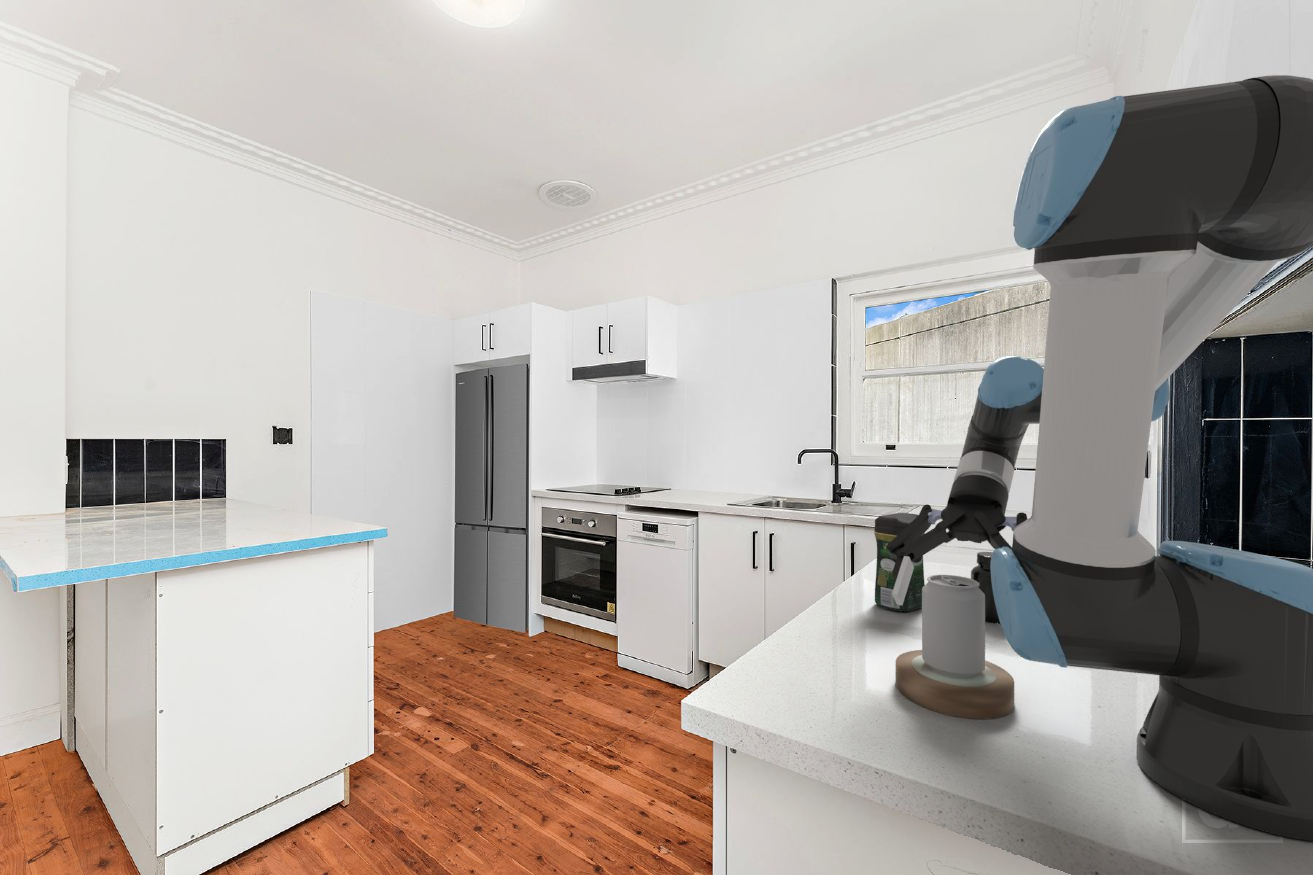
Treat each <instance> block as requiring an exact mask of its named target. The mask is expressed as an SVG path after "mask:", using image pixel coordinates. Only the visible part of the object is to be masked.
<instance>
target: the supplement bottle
mask: <svg viewBox="0 0 1313 875" xmlns="http://www.w3.org/2000/svg"><path fill="white" fill-rule="evenodd" d="M992 553H993V551H979V552H977V554H976V564H977V565H976V566H974V567H972V569H971V570H970V579H973V580H976V581H977V582H979V587H978V588H979V589H980V590H981V591H982V592H983V593H984V594H985V623H989V624H995V623H998V624H999V625H1001V624H1000V620H999V617H998V613H997V609H996V605H995V600H994V595H993V589H992V582H991V567H990V565H991V557H992Z"/></svg>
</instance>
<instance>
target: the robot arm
mask: <svg viewBox="0 0 1313 875" xmlns="http://www.w3.org/2000/svg"><path fill="white" fill-rule="evenodd" d="M1026 160H1027V161H1026V162H1025V166H1024V169H1023V171H1022V175H1021V178H1020V182H1019V186H1018V190H1017V195H1016V199H1015V203H1014V204H1015V205H1014V210H1013V218H1012V219H1013V221H1012V222H1013V224H1012V225H1013V227H1014V229H1013V237H1014V238H1013V239H1014V241H1015V243H1016V245H1017V246H1019V247H1020V248H1023V249H1026V251H1027V250H1028V251H1031V250H1032V249H1034V250H1033V251H1034V254H1033V255H1034V256H1033V265H1032V266H1033V268H1032V269H1034V270H1035V271H1036V272H1038V273H1039V275H1041V276H1042V277H1043V278H1045V279H1046V281H1047V282H1048V284H1049V286H1050V290H1049V291H1050V292H1049V302H1048V316H1047V328H1046V337H1045V338H1046V341H1045V348H1044V351H1045V352H1044V362H1043V363H1044V365H1043V366H1042V365H1041V364H1040V363H1038V362H1036V360H1034V359H1031V358H1027V359H1026V358H1022V357H1021V356H1019V355H1018V356H1015V355H1014V356H1013V355H1011V356H1005V357H1001V358H998V359H996V360H994V361H993V362H991V363H990V364H989V365H988V367H987V368H986V369H985V372H984V374H983V376H982V379H981V381H980V384H979V386H978V388H977V395H976V396H977V397H976V401H975V404H974V408H973V413H972V416H971V417H970V418H971V419H970V421H969V425H968V427H967V433H966V436H965V441H964V444H963V448H962V451H961V456H960V458H959V459H960V460H959V461H958V465H957V468H956V472H955V474H954V479H953V483H952V485H951V488H950V492H949V495H948V498H947V503H946V506H945V507H944V508H943V509H942V510H941V509H935V508H932V506H931V505H930V504H923V506H922V507H921V509H920V511H919V514H917V515H918V516H917V517H916V518H915V519H914V520H913V521H912V522H911V523H910V524H909V525H908V526H907V527H906V528H905V529H904V530H903V531H901V532H900V533H899V534H898V535H897V536H896V537H895V538H894V539H893V540H892V541H891V542H890V543H889V544H888V545H887V547H886V548H887V550H888V552H889V554H890V557H891V558H892V559H896V562H895V565H894V568H893V571H892V574H893V577H894V579H895V581H896V583H895V586H894V589H893V592H892V595H893V597H894V599H895V601H896V603H897V605H903V602H904V599H905V595H906V592H907V589H908V586H909V582H910V579H911V576H912V572H913V569H914V566H913V564H912V562H913V561H915V560H916V559H918V558H919V557H921V556H923V557H924V555H926V554H927V553H929V552H931V551H933V550H934V549H936V548H937V547H939V546H941V545H942V544H948V543H950V542H951V541H953V540H955V539H956V540H957V541H959V542H972V543H975V544H982V543H984V542H988V544H989V545H990V546H991V547H992V548H993V551H992V552H993V553H992V557H991V565H990V567H991V582H992V589H993V595H994V600H995V605H996V609H997V613H998V617H999V620H1000V624H999V625H1000V627H1001V629H1002V632H1003V635H1004V637H1005V639H1006V641H1007V643H1008V645H1009V646H1010V648H1011V649H1012V650H1013V652H1015V653H1016V654H1017V655H1018V656H1020V658H1023V659H1024V660H1026V661H1030V662H1037V663H1043V664H1049V665H1050V664H1051V665H1058V666H1059V667H1060V668H1066V669H1067V668H1068V667H1073V668H1074V667H1075V668H1083V669H1084V668H1085V669H1093V670H1095V669H1096V670H1105V671H1113V672H1123V673H1124V672H1125V673H1132V674H1133V673H1134V674H1142V675H1143V674H1144V675H1152V676H1153V675H1154V676H1159V677H1158V691H1157V693H1156V695H1155V698H1154V699H1153V701H1152V704H1151V705H1150V707H1149V710H1148V712H1147V714H1146V717H1145V719H1144V721H1143V725H1142V727H1141V728H1140V729H1139V730H1138V732H1137V736H1136V757H1135V758H1136V762H1137V763H1138V766H1139V767H1140V769H1141V770H1142V771H1143V772H1144V773H1145V774H1146V775H1147V776H1148V777H1149V778H1150V779H1151V780H1152V781H1153V782H1155V783H1157V784H1158V785H1159V786H1160V787H1162V788H1163V789H1165V790H1166V791H1168V792H1170V793H1171V794H1173V795H1174V796H1177V797H1178V798H1180V799H1181V800H1183V799H1184V801H1185V800H1186V802H1187V801H1189V802H1191V803H1192V804H1191V803H1190V804H1191V805H1193V806H1195V807H1198V808H1200V809H1202V810H1204V811H1206V812H1209V813H1211V814H1213V815H1215V816H1218V817H1220V818H1223V819H1226V820H1229V821H1231V822H1234V823H1237V824H1239V825H1243V826H1245V827H1249V828H1253V829H1256V830H1258V831H1259V830H1260V831H1262V832H1266V833H1270V834H1274V835H1279V836H1281V837H1286V838H1292V839H1297V840H1305V841H1312V842H1313V568H1312V567H1309V566H1307V565H1305V564H1304V565H1303V564H1301V563H1297V562H1293V561H1290V560H1286V559H1282V558H1278V557H1274V556H1269V555H1264V554H1258V553H1256V552H1255V553H1254V552H1250V551H1244V550H1240V549H1235V548H1234V549H1233V548H1229V547H1223V546H1217V545H1211V544H1207V543H1206V544H1205V543H1198V542H1190V541H1184V540H1183V541H1182V540H1164V541H1162V542H1161V543H1160V546H1159V547H1158V549H1157V551H1156V548H1155V547H1154V546H1153V544H1152V543H1151V542H1149V541H1148V539H1147V538H1145V537H1144V536H1143V535H1142V534H1141V533H1140V532H1139V530H1138V529H1139V522H1140V516H1141V514H1140V513H1141V508H1142V506H1141V505H1142V498H1143V491H1144V482H1145V481H1144V480H1145V474H1146V466H1147V459H1148V449H1149V444H1150V443H1149V442H1150V435H1151V433H1150V432H1151V427H1152V423H1153V422H1155V421H1157V420H1159V419H1160V418H1161V417H1163V415H1164V414H1165V412H1166V406H1168V404H1169V402H1170V398H1171V397H1170V396H1171V394H1170V393H1171V392H1170V391H1171V390H1170V384H1169V380H1168V379H1169V378H1170V377H1171V375H1172V374H1173V373H1174V372H1175V371H1176V370H1177V369H1178V368H1179V367H1180V366H1181V365H1182V364H1183V362H1185V361H1186V360H1187V359H1188V357H1189V356H1190V355H1191V354H1192V353H1193V352H1195V350H1196V349H1197V348H1198V346H1200V344H1202V343H1203V341H1204V340H1205V339H1206V338H1207V337H1208V336H1209V335H1210V334H1211V333H1212V332H1213V331H1214V330H1215V329H1216V328H1217V327H1218V325H1220V323H1221V322H1223V320H1224V319H1226V317H1228V315H1229V314H1230V313H1231V312H1232V311H1233V310H1234V308H1236V306H1238V305H1239V304H1240V302H1241V301H1242V300H1243V299H1244V298H1245V297H1246V296H1247V295H1248V294H1249V293H1250V292H1251V291H1252V290H1253V289H1254V287H1255V286H1257V285H1258V283H1259V282H1260V281H1261V280H1262V279H1263V278H1264V277H1265V276H1266V275H1267V273H1269V271H1271V269H1272V268H1273V267H1274V266H1276V264H1277V263H1278V262H1282V261H1285V260H1289V259H1292V258H1294V257H1297V256H1299V255H1301V254H1302V253H1304V252H1305V251H1306V250H1308V249H1309V248H1310V247H1311V246H1312V245H1313V79H1312V78H1311V77H1304V76H1295V75H1288V74H1287V75H1286V74H1285V75H1282V74H1281V75H1280V74H1279V75H1278V74H1276V75H1274V74H1273V75H1263V76H1262V75H1261V76H1256V77H1249V78H1246V79H1243V80H1238V81H1229V82H1225V83H1215V84H1209V85H1201V86H1192V87H1185V88H1177V89H1170V90H1169V89H1168V90H1161V91H1156V92H1155V91H1154V92H1145V93H1138V94H1131V95H1123V96H1122V95H1117V96H1112V97H1110V98H1109V99H1105V100H1102V101H1101V100H1100V101H1096V102H1092V103H1088V104H1084V105H1083V104H1082V105H1076V106H1073V107H1069V108H1066V109H1064V110H1062V111H1060V112H1059V113H1058V114H1056V115H1055V116H1054V117H1052V119H1050V120H1049V121H1048V123H1047V124H1046V125H1045V126H1044V127H1043V129H1042V130H1041V132H1040V133H1039V135H1038V137H1037V138H1036V140H1035V142H1034V144H1033V146H1032V149H1031V151H1030V153H1029V155H1028V158H1027V159H1026ZM1036 424H1037V425H1038V436H1037V449H1036V463H1035V472H1034V473H1035V474H1034V486H1033V495H1032V496H1033V499H1032V510H1031V515H1030V517H1029V518H1028V515H1027V514H1026V512H1018V513H1017V514H1016V516H1005V515H1006V512H1007V507H1008V501H1009V498H1010V497H1009V494H1010V491H1011V488H1012V484H1013V483H1012V482H1013V478H1014V475H1015V468H1016V462H1017V460H1018V456H1019V451H1020V448H1021V445H1022V442H1023V439H1024V437H1025V435H1026V432H1027V430H1028V428H1029V425H1036ZM938 520H940V521H939V522H938V523H936V522H937V521H938ZM932 525H935V527H934V528H932V529H931V530H930V529H929V528H931V526H932ZM1006 527H1008V528H1010V529H1011V531H1012V532H1013V534H1012V543H1011V544H1012V545H1010V544H1009V542H1008V541H1007V540H1006V539H1005V538H1004V537H1003V535H1002V534H1001V533H1000V532H1001V531H1004V529H1006ZM928 530H929V531H928ZM947 530H948V531H947ZM924 533H925V534H924ZM923 534H924V535H923ZM1156 552H1157V554H1159V555H1158V556H1157V554H1156ZM1189 802H1188V803H1189Z"/></svg>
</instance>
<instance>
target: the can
mask: <svg viewBox="0 0 1313 875" xmlns="http://www.w3.org/2000/svg"><path fill="white" fill-rule="evenodd" d="M926 580H927V583H926V584H925V586H924V587H923V588H922V607H921V650H922V659H923V660H924V662H925V663H926V664H928V665H929V667H930V668H931V669H932V670H934V671H936V672H938V673H940V674H943V675H947V676H951V677H957V678H971V677H975V676H977V675H978V674H979V673H981V672H982V671H984V670H985V660H986V622H985V594H984V593H983V592H982V591H981V590H980V589H979V588H978V587H979V582H977V581H976V580H973V579H971V577H970V578H969V577H965V576H960V575H954V574H953V575H952V574H935V575H934V574H933V575H930V576H928V577H927V579H926Z"/></svg>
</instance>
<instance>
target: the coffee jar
mask: <svg viewBox="0 0 1313 875" xmlns="http://www.w3.org/2000/svg"><path fill="white" fill-rule="evenodd" d="M918 515H919V514H916V513H910V512H897V513H895V512H894V513H890V514H884V515H879V516H878V517H876V518H875V519H874V537H875V541H876V571H875V581H874V582H875V583H874V584H875V585H874V603H875V604H876V605H877V606H879V607H881V608H882V609H884V608H885V609H884V610H887V609H889V610H888V611H891V610H892V611H897V612H898V611H899V612H902V611H904V612H905V611H906V612H911V611H915V610H918V609H920V608H921V609H922V588H923V587H924V586H925V585H926V584H925V574H924V572H925V571H924V570H925V569H924V555H923V556H921V557H919V558H918V559H916V560H915V561H913V562H912V564H913V566H914V569H913V572H912V576H911V579H910V582H909V586H908V589H907V592H906V595H905V599H904V602H903V605H897V603H896V601H895V599H894V597H893V595H892V592H893V589H894V586H895V583H896V581H895V579H894V577H893V574H892V571H893V568H894V565H895V562H896V559H892V558H891V557H890V554H889V552H888V550H887V548H886V547H887V545H888V544H889V543H890V542H891V541H892V540H893V539H894V538H895V537H896V536H897V535H898V534H899V533H900V532H901V531H903V530H904V529H905V528H906V527H907V526H908V525H909V524H910V523H911V522H912V521H913V520H914V519H915V518H916V517H917V516H918ZM925 533H926V532H925ZM925 533H924V534H925ZM924 534H923V535H924ZM904 612H903V613H904Z"/></svg>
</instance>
